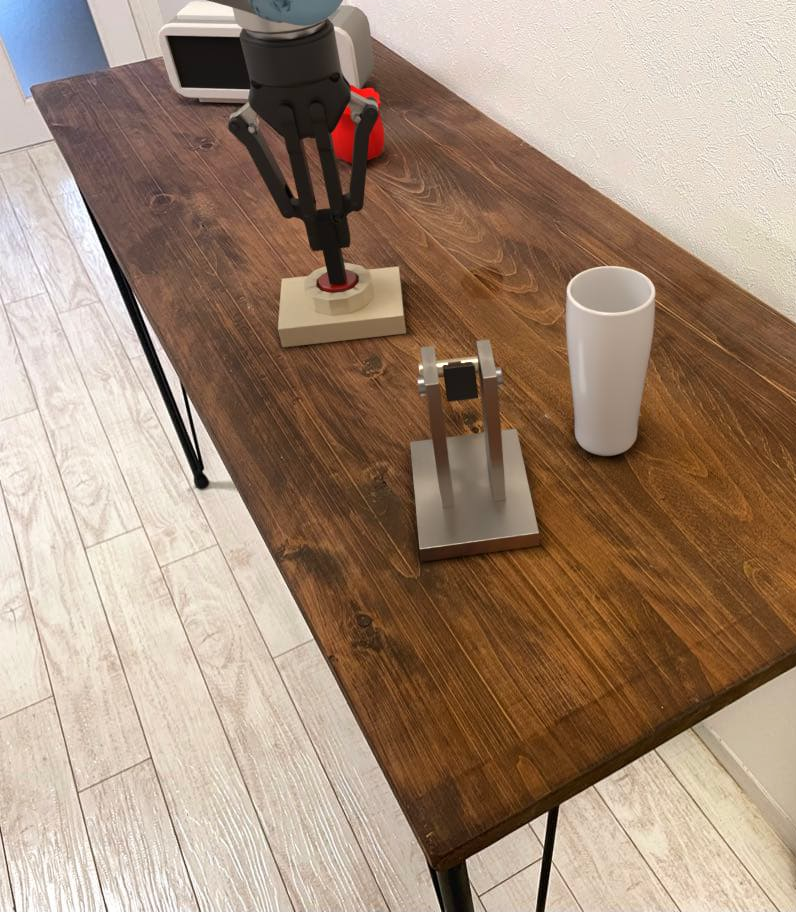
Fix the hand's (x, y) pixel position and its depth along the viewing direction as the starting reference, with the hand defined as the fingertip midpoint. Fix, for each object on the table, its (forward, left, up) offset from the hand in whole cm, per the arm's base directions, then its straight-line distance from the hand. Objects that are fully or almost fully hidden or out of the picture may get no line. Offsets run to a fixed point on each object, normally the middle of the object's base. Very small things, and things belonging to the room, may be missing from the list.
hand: (337, 275), depth 90 cm
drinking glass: (+22, -23, -5) cm, 32 cm away
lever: (+10, -24, +3) cm, 26 cm away
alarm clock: (-9, +58, -5) cm, 59 cm away
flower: (+2, +35, -5) cm, 35 cm away
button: (0, 0, -2) cm, 2 cm away
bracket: (+10, -28, -5) cm, 30 cm away
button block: (0, 0, -5) cm, 5 cm away
